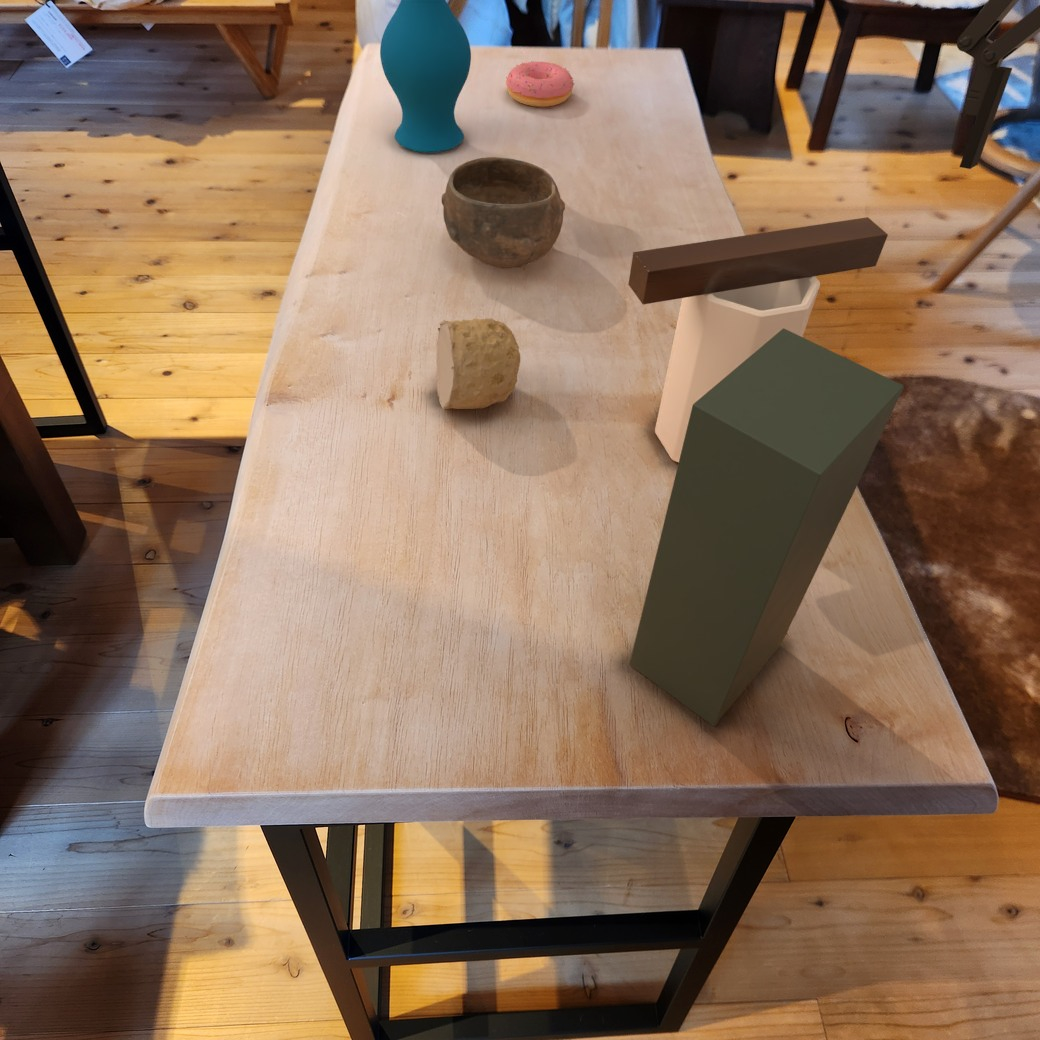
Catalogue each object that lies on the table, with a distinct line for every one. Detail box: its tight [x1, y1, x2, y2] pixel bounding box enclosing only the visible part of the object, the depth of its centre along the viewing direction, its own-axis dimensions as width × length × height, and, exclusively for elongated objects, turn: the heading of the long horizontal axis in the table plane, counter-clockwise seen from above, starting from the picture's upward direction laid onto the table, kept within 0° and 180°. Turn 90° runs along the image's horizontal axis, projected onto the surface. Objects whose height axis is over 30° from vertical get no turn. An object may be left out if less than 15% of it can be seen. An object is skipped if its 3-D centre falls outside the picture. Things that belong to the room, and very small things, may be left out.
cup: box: [654, 276, 821, 463], centre depth 78 cm, size 11×11×18 cm
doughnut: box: [505, 60, 575, 108], centre depth 137 cm, size 11×11×4 cm
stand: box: [628, 328, 905, 727], centre depth 58 cm, size 8×10×27 cm
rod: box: [628, 216, 889, 306], centre depth 70 cm, size 3×22×3 cm, turn 108°
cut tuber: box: [436, 317, 521, 410], centre depth 85 cm, size 10×10×10 cm
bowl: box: [441, 156, 566, 270], centre depth 103 cm, size 14×15×10 cm
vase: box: [379, 0, 472, 154], centre depth 117 cm, size 12×13×28 cm
